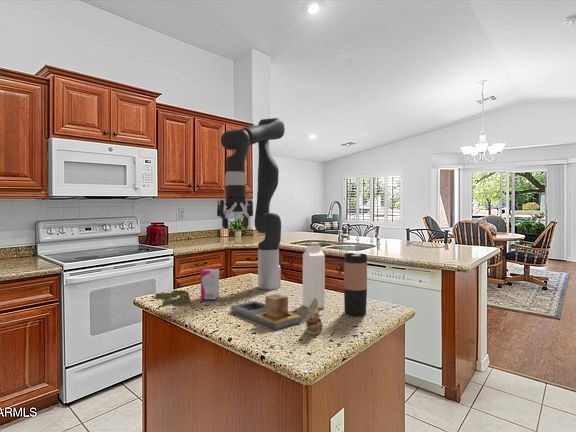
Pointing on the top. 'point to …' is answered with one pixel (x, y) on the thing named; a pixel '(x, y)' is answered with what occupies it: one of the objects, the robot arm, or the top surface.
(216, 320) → the top surface
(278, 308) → the block
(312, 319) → the chocolate bunny
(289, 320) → the gray slotted board
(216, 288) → the supplement box
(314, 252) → the milk
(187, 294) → the cookie cutter
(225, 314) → the top surface
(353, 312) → the travel mug
